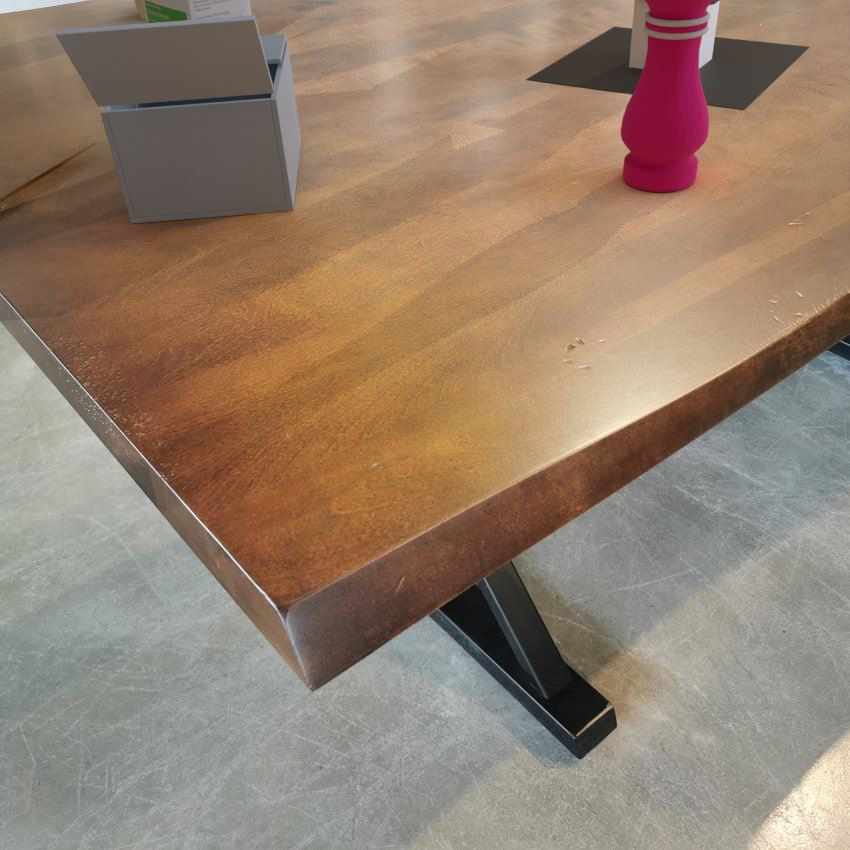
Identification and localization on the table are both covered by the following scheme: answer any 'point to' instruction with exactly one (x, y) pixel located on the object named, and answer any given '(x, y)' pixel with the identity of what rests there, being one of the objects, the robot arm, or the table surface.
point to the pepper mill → (668, 100)
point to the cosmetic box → (194, 9)
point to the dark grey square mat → (718, 62)
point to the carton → (210, 150)
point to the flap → (169, 60)
